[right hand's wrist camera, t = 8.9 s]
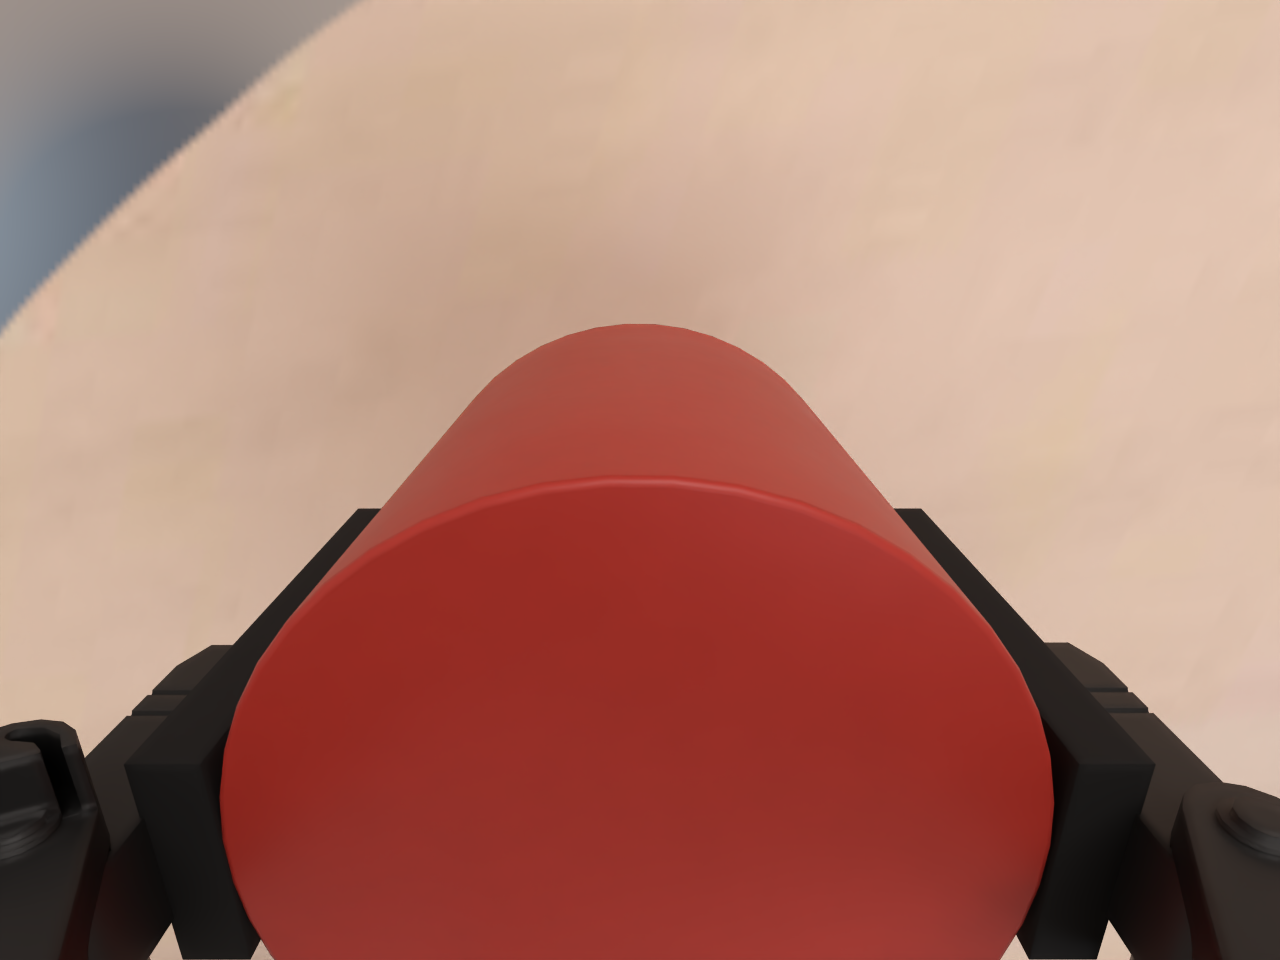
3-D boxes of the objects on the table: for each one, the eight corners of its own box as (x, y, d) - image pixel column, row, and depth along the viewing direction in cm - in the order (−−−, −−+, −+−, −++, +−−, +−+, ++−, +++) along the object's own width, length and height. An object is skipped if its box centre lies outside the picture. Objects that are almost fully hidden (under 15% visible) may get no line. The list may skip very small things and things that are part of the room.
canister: (493, 723, 18) (369, 1161, 10) (380, 368, 15) (65, 571, 7) (859, 665, 17) (1055, 1079, 9) (820, 284, 14) (1062, 393, 6)
